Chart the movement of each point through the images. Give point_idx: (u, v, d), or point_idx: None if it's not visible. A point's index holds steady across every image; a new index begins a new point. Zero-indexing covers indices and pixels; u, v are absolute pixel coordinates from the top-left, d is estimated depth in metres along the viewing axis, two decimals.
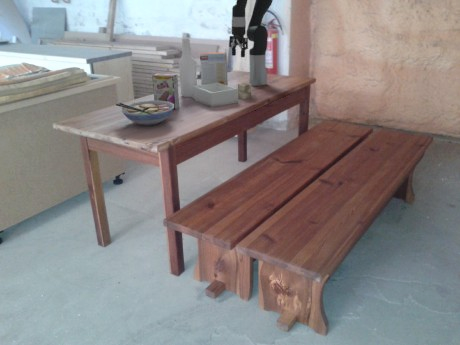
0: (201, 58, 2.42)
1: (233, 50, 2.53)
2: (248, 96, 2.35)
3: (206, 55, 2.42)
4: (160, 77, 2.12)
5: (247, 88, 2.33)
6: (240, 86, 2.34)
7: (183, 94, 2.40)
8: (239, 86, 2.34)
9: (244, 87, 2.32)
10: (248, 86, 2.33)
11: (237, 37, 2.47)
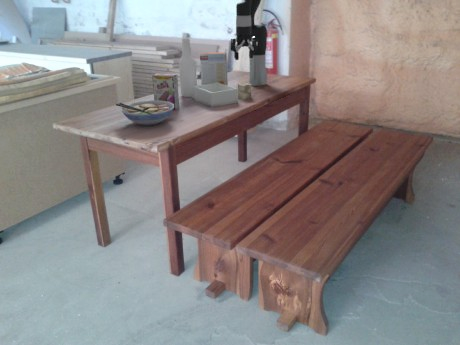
0: (201, 58, 2.42)
1: None
2: (248, 96, 2.35)
3: (206, 55, 2.42)
4: (160, 77, 2.12)
5: (247, 88, 2.33)
6: (240, 86, 2.34)
7: (183, 94, 2.40)
8: (239, 86, 2.34)
9: (244, 87, 2.32)
10: (248, 86, 2.33)
11: (246, 38, 2.25)
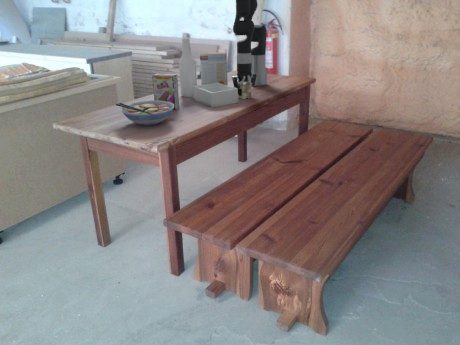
0: (201, 58, 2.42)
1: None
2: (248, 96, 2.35)
3: (206, 55, 2.42)
4: (160, 77, 2.12)
5: (247, 88, 2.33)
6: None
7: (183, 94, 2.40)
8: None
9: (244, 87, 2.32)
10: (248, 86, 2.33)
11: (246, 74, 2.31)
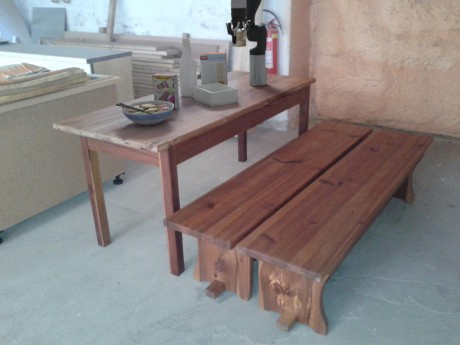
0: (201, 58, 2.42)
1: None
2: (243, 44, 2.23)
3: (206, 55, 2.42)
4: (160, 77, 2.12)
5: (242, 35, 2.22)
6: None
7: (183, 94, 2.40)
8: None
9: (239, 34, 2.20)
10: (243, 33, 2.22)
11: (241, 20, 2.20)
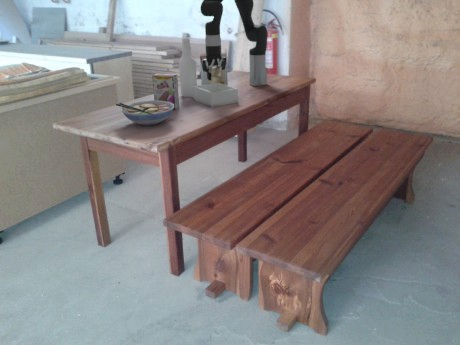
0: (201, 58, 2.42)
1: None
2: (218, 80, 2.26)
3: None
4: (160, 77, 2.12)
5: (217, 72, 2.24)
6: None
7: (183, 94, 2.40)
8: None
9: (213, 71, 2.22)
10: (218, 70, 2.24)
11: (215, 57, 2.22)
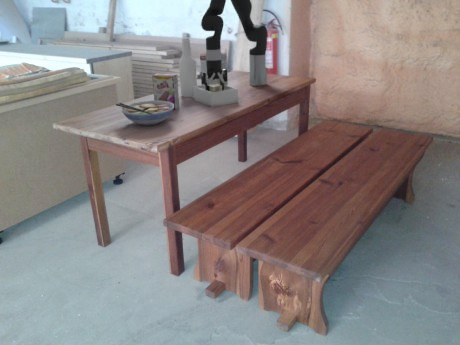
0: (201, 58, 2.42)
1: None
2: None
3: None
4: (160, 77, 2.12)
5: (217, 89, 2.27)
6: (210, 88, 2.28)
7: (183, 94, 2.40)
8: None
9: (214, 88, 2.26)
10: (218, 87, 2.27)
11: (216, 71, 2.25)
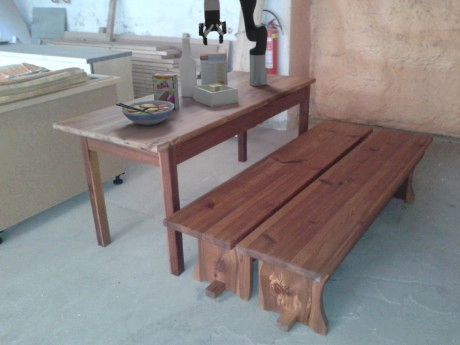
0: (201, 58, 2.42)
1: None
2: None
3: (206, 55, 2.42)
4: (160, 77, 2.12)
5: (217, 89, 2.27)
6: (210, 88, 2.28)
7: (183, 94, 2.40)
8: (209, 87, 2.28)
9: (214, 88, 2.26)
10: (218, 87, 2.27)
11: (214, 22, 2.16)
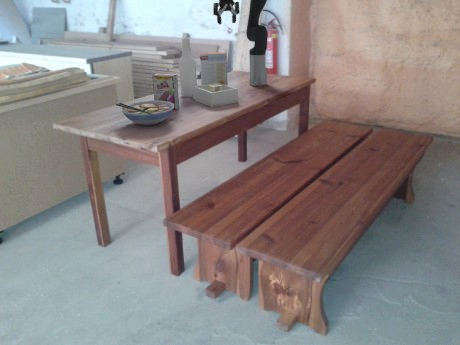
0: (201, 58, 2.42)
1: None
2: None
3: (206, 55, 2.42)
4: (160, 77, 2.12)
5: (217, 89, 2.27)
6: (210, 88, 2.28)
7: (183, 94, 2.40)
8: (209, 87, 2.28)
9: (214, 88, 2.26)
10: (218, 87, 2.27)
11: (228, 2, 2.29)
